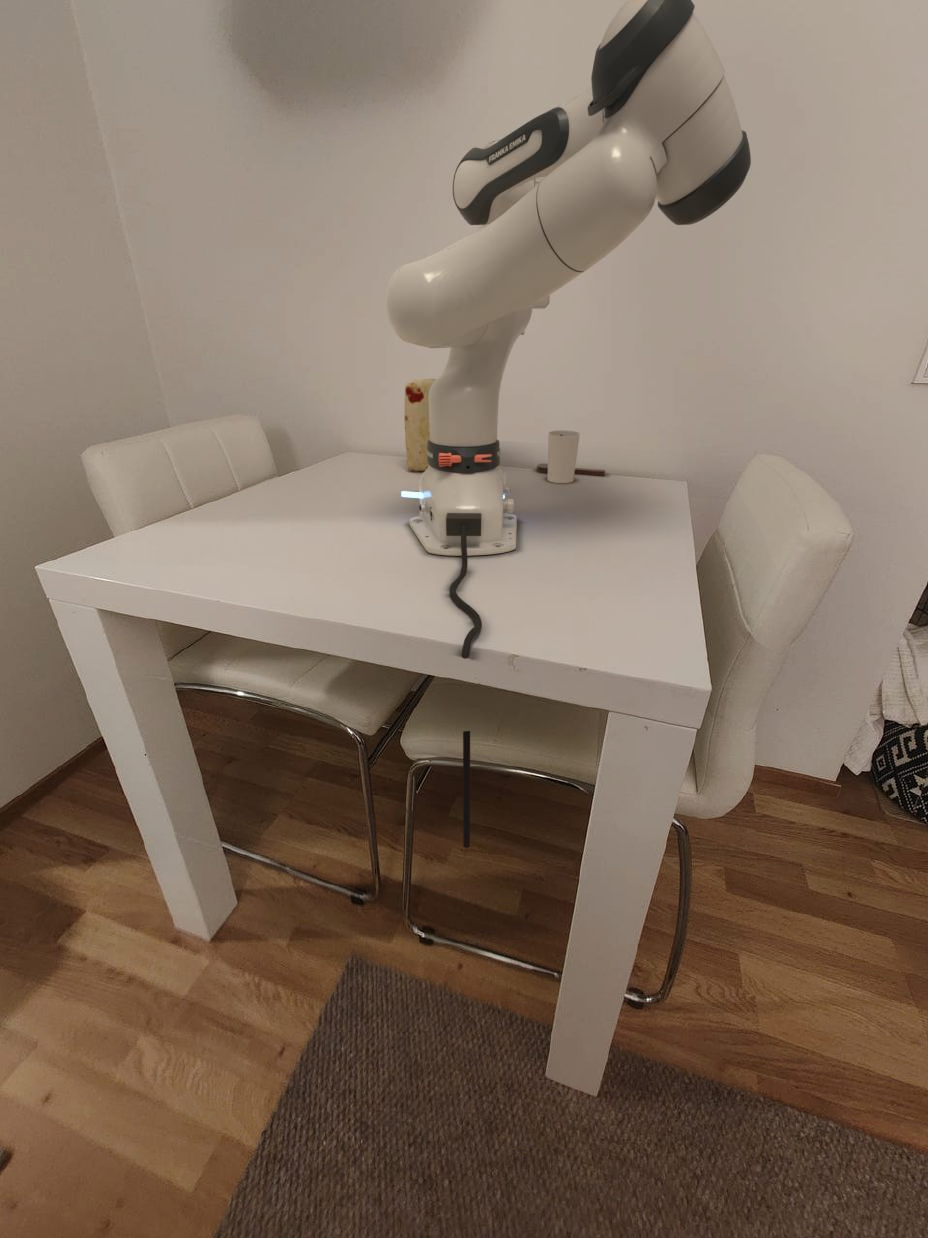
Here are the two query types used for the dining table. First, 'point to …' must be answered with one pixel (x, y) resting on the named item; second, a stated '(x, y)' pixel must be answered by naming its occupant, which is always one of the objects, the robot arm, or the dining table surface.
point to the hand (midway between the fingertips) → (496, 334)
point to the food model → (417, 423)
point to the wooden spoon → (544, 469)
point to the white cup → (562, 455)
